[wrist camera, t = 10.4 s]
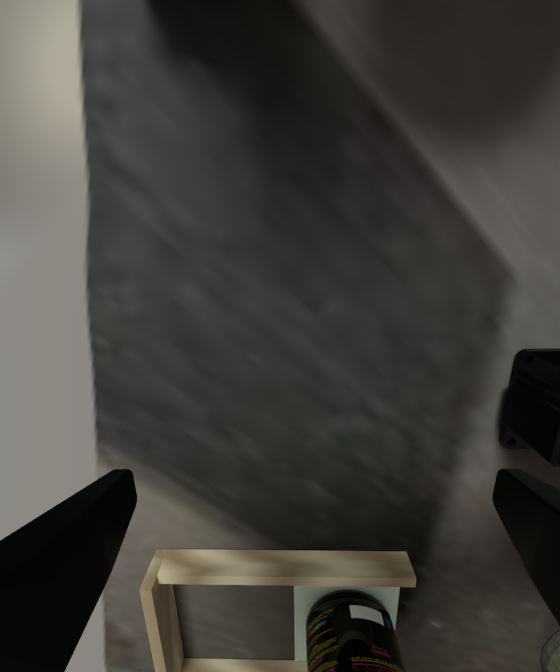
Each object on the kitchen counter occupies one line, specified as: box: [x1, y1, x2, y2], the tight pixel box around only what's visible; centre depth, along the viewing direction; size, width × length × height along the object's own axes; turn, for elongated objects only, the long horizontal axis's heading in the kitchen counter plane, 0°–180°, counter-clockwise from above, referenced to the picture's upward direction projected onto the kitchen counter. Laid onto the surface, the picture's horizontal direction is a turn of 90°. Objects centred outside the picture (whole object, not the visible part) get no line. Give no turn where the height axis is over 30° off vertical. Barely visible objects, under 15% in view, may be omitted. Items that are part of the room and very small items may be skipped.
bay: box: [139, 549, 416, 672], centre depth 25 cm, size 19×13×3 cm
